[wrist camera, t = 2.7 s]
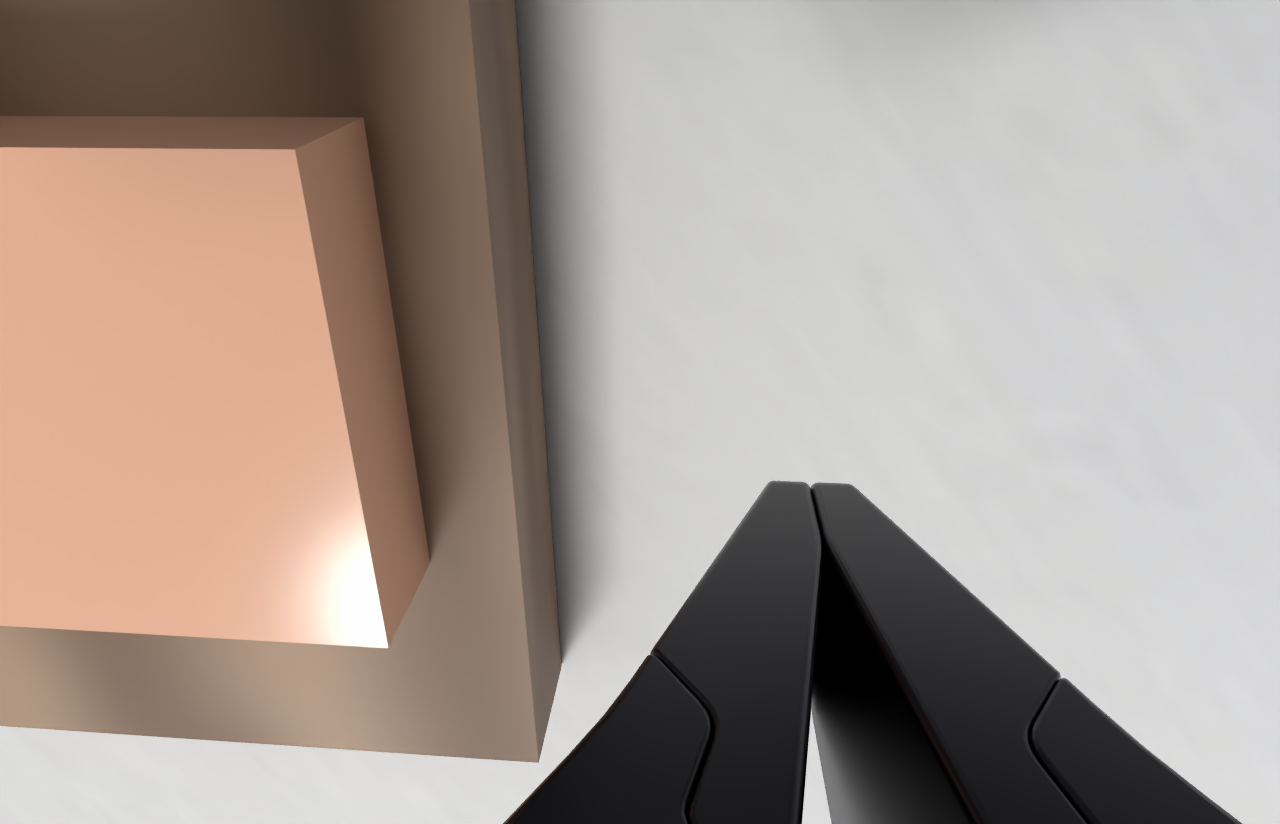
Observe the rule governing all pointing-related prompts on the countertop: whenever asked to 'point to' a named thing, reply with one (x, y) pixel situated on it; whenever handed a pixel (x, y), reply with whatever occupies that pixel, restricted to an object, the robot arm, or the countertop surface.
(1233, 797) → the countertop surface
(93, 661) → the wooden block
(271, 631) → the coaster
